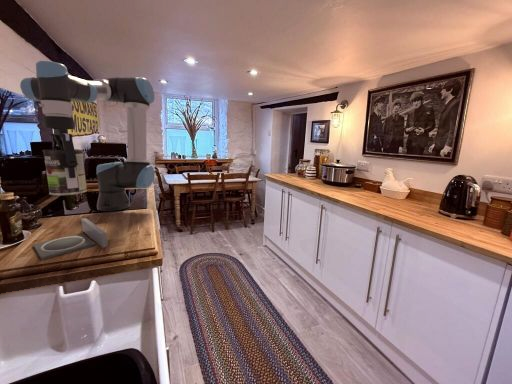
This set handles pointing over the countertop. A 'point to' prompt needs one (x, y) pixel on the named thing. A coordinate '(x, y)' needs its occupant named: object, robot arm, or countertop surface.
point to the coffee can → (63, 173)
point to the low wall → (94, 232)
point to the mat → (62, 245)
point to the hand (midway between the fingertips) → (68, 185)
